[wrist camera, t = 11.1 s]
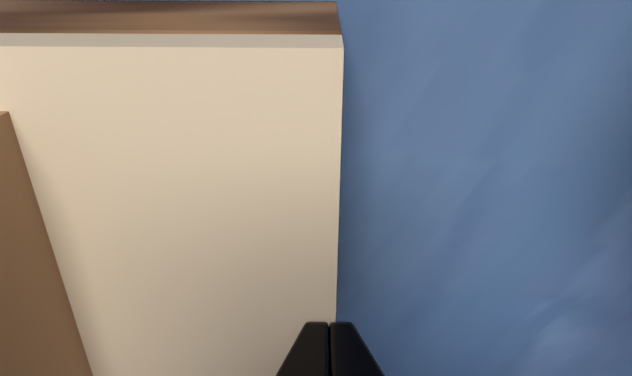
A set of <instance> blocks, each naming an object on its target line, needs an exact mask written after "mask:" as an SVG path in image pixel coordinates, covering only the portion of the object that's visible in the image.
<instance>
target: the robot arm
mask: <svg viewBox="0 0 632 376" xmlns="http://www.w3.org/2000/svg"><path fill="white" fill-rule="evenodd" d="M276 376H384V374H383V372H382V371H381V369H380V367H379V366H378V364H377V362H376V361H375V359H374V357H373V356H372V354H371V353H370V351H369V349H368V348H367V346H366V344H365V343H364V341H363V339H362V338H361V336H360V334H359V333H358V331H357V329H356V328H355V326H354V325H353V324H352V323H351V322H331V323H330V324H329V325H328V323H327V322H314V321H309V322H306V323H305V324H304V326H303V328H302V329H301V331H300V333H299V335H298V336H297V338H296V340H295V342H294V344H293V345H292V347H291V349H290V351H289V352H288V354H287V356H286V358H285V360H284V361H283V363H282V365H281V367H280V368H279V370H278V372H277V374H276Z"/></svg>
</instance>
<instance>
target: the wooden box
mask: <svg viewBox="0 0 632 376" xmlns="http://www.w3.org/2000/svg"><path fill="white" fill-rule="evenodd" d="M0 33H104V34H301V35H341V29H340V24H339V18H338V13H337V7H336V2H314V1H90V0H0Z"/></svg>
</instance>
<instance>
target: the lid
mask: <svg viewBox="0 0 632 376" xmlns="http://www.w3.org/2000/svg"><path fill="white" fill-rule="evenodd" d="M343 61H344V46H343V40H342V35H301V34H104V33H0V376H276V374H277V372H278V370H279V368H280V367H281V365H282V363H283V361H284V360H285V358H286V356H287V354H288V352H289V351H290V349H291V347H292V345H293V344H294V342H295V340H296V338H297V336H298V335H299V333H300V331H301V329H302V328H303V326H304V324H305V323H306V322H309V321H314V322H327V323H328V325H329V324H330V323H331V322H336V293H337V260H338V227H339V194H340V160H341V127H342V94H343Z"/></svg>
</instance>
